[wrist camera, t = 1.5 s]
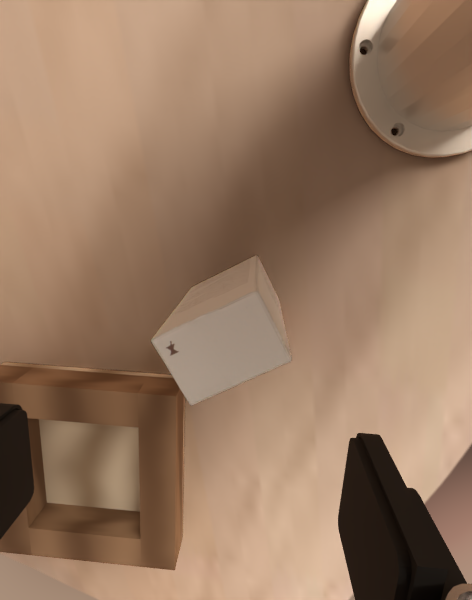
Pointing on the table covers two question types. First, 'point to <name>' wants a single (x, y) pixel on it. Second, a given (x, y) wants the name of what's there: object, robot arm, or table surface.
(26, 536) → the socket block
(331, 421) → the table surface
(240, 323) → the skincare box
